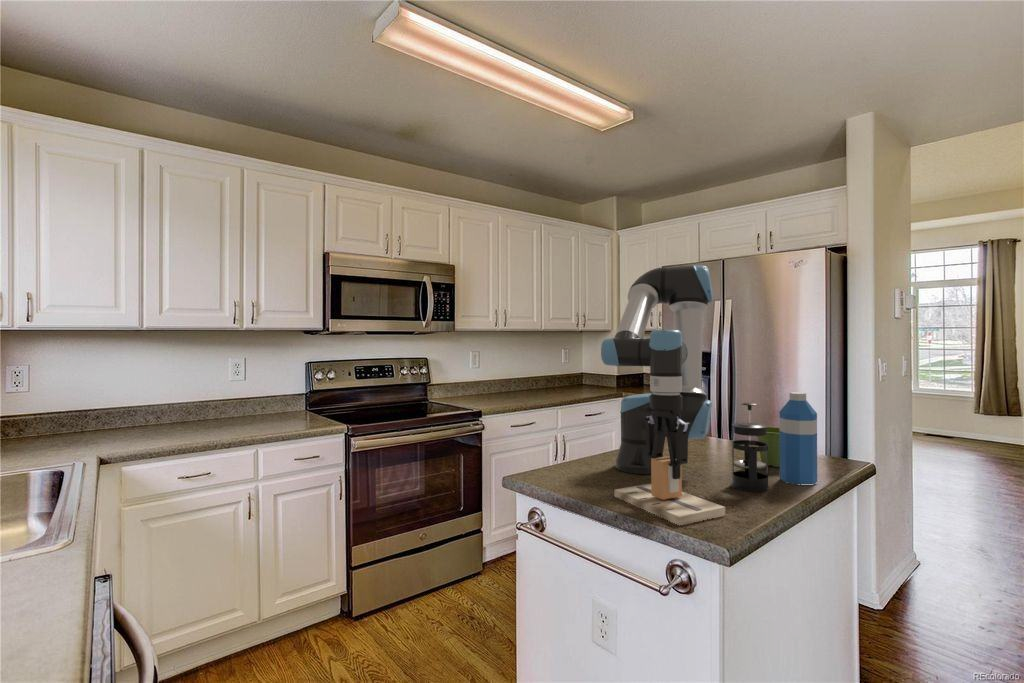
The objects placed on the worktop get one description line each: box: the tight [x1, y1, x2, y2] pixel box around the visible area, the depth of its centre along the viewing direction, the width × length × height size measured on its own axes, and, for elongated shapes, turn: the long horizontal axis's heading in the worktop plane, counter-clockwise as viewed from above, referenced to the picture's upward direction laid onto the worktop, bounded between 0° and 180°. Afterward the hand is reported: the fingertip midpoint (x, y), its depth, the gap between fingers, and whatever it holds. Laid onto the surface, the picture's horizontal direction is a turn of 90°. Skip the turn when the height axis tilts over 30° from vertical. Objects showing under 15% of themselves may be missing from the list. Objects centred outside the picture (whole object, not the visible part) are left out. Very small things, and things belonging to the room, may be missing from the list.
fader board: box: [613, 482, 726, 527], centre depth 127 cm, size 23×14×2 cm, turn 26°
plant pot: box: [756, 426, 780, 468], centre depth 166 cm, size 12×12×11 cm
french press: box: [731, 402, 770, 493], centre depth 142 cm, size 12×9×23 cm
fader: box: [650, 455, 683, 500], centre depth 127 cm, size 4×6×9 cm, turn 116°
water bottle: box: [778, 391, 818, 485], centre depth 147 cm, size 9×9×25 cm
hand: (666, 489), depth 127 cm, fingers closed on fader, 4 cm apart
